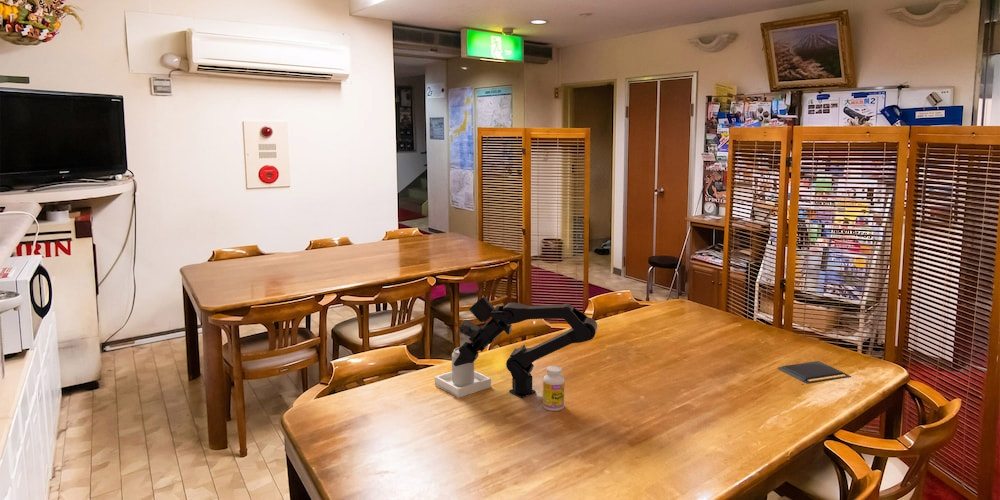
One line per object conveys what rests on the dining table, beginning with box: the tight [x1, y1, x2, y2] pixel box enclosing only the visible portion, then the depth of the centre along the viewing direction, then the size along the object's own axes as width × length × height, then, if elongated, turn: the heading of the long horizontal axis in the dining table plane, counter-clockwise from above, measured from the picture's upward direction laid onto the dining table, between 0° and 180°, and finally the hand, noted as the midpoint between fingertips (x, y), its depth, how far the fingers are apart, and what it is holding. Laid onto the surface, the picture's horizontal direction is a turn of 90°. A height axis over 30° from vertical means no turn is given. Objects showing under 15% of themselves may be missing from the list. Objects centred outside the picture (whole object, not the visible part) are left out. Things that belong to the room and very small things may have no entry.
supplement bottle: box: [542, 365, 566, 412], centre depth 192 cm, size 7×7×13 cm
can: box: [451, 346, 475, 387], centre depth 207 cm, size 8×8×12 cm
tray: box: [434, 369, 492, 399], centre depth 209 cm, size 14×14×3 cm
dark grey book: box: [777, 360, 852, 385], centre depth 220 cm, size 20×2×15 cm
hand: (458, 360), depth 207 cm, fingers open, 9 cm apart
